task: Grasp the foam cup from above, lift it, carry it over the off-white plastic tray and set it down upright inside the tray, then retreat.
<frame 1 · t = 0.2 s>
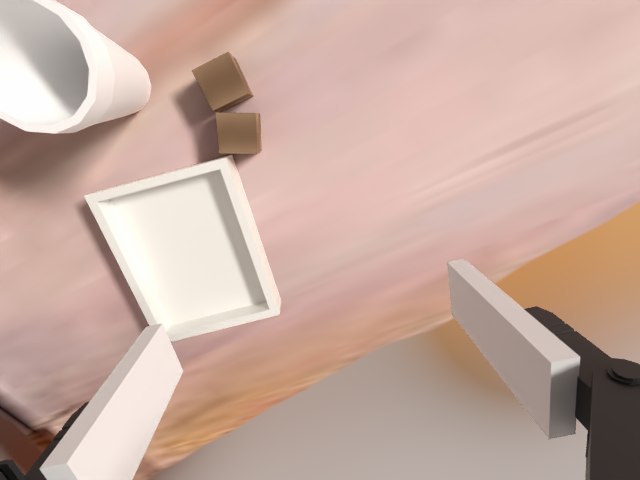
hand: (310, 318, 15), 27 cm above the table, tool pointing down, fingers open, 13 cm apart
walnut block b: (243, 132, 39), on the table
tray: (197, 249, 43), on the table
foam cup: (121, 83, 36), on the table
walnut block a: (228, 86, 37), on the table
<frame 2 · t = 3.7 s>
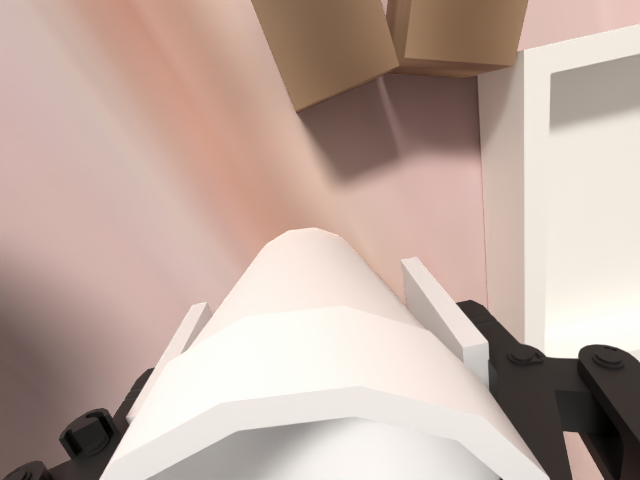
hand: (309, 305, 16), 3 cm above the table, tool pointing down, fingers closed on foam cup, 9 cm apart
walnut block b: (429, 26, 15), on the table
foam cup: (308, 279, 19), on the table, touching gripper
walnut block a: (319, 51, 15), on the table
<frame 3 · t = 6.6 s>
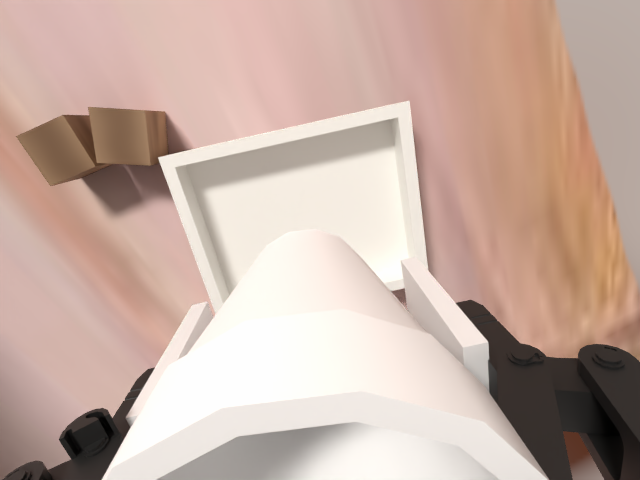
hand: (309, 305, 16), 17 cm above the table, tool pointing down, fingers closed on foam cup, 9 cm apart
walnut block b: (143, 134, 29), on the table
tray: (305, 214, 32), on the table
foam cup: (308, 281, 19), point 14 cm above the table, touching gripper
walnut block a: (87, 147, 29), on the table
when the fingers open (5 cm above the table, at t = 9.5 s): foam cup drops 1 cm, resting on tray.
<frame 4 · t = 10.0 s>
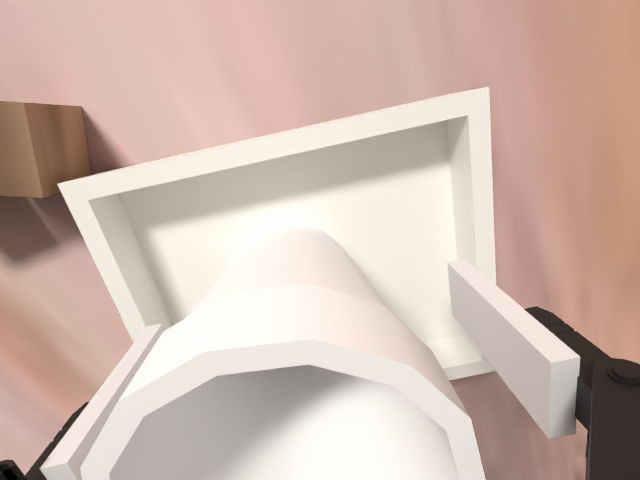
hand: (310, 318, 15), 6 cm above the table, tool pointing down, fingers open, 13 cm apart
walnut block b: (49, 143, 18), on the table
tray: (307, 263, 21), on the table
foam cup: (296, 271, 20), point 1 cm above the table, touching tray
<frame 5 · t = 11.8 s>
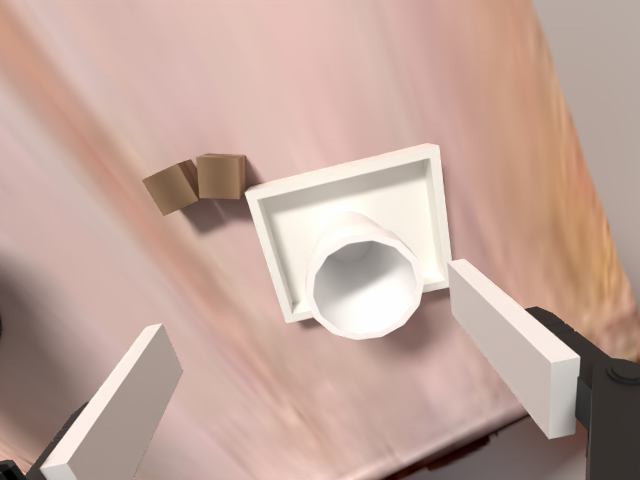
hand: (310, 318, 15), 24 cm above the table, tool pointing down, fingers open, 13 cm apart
walnut block b: (227, 172, 37), on the table
tray: (352, 231, 40), on the table
foam cup: (346, 235, 39), point 1 cm above the table, touching tray
walnut block a: (184, 183, 37), on the table
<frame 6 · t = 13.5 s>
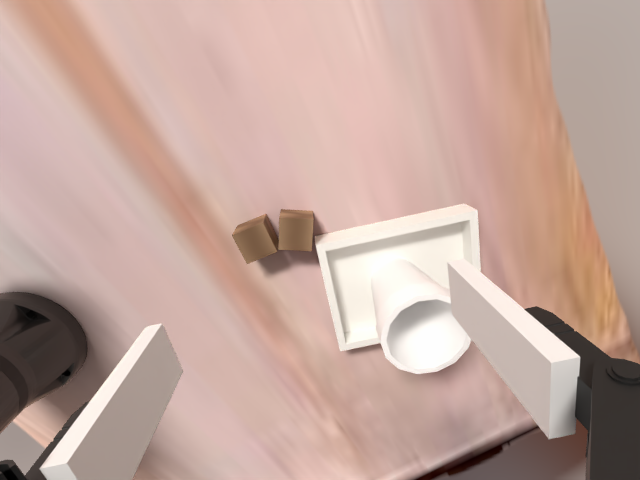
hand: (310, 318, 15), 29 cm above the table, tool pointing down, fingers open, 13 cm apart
walnut block b: (296, 224, 44), on the table
tray: (397, 273, 47), on the table
foam cup: (393, 277, 46), point 1 cm above the table, touching tray
walnut block a: (258, 233, 44), on the table
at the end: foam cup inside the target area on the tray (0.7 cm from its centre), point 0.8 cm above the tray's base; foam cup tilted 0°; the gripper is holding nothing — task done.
